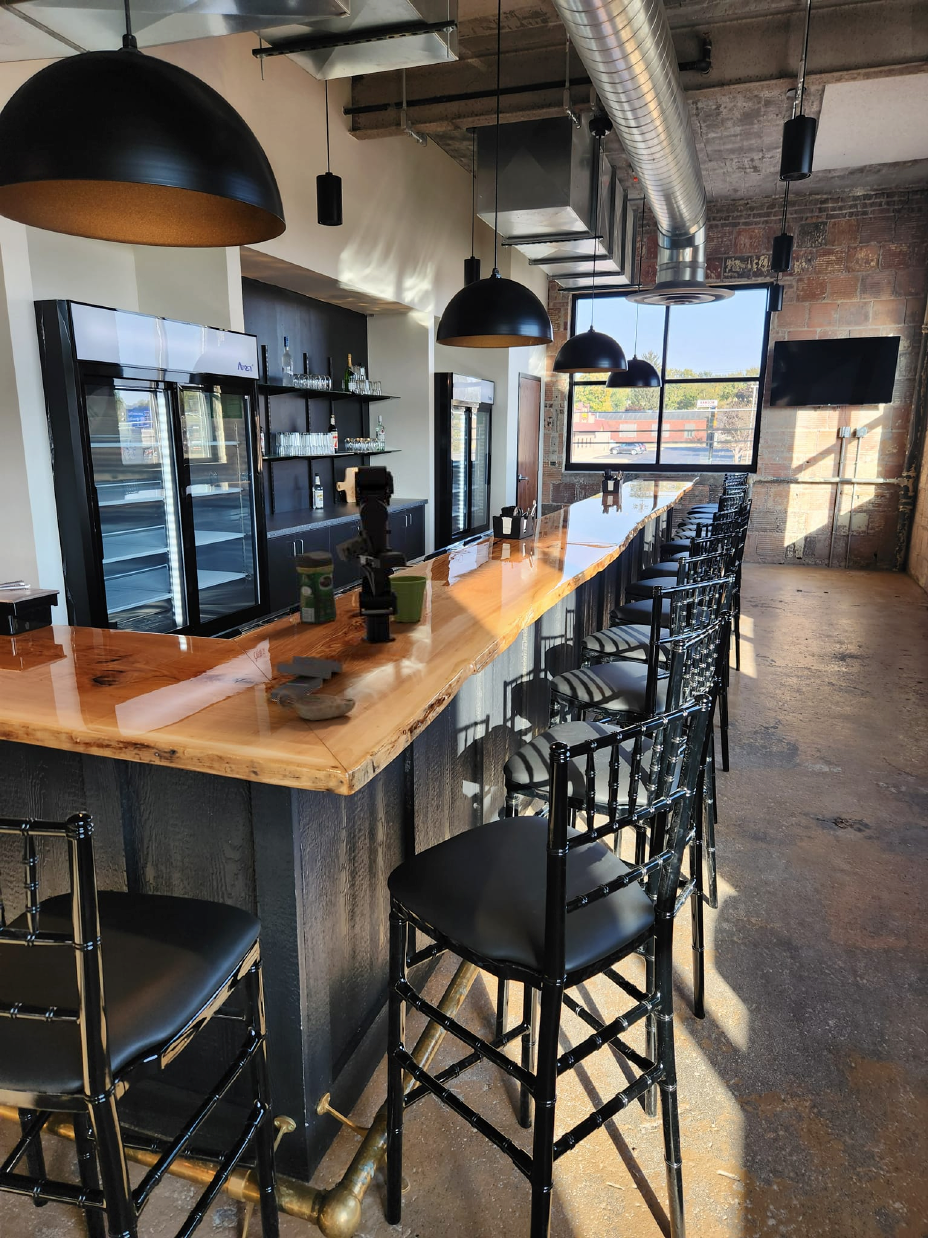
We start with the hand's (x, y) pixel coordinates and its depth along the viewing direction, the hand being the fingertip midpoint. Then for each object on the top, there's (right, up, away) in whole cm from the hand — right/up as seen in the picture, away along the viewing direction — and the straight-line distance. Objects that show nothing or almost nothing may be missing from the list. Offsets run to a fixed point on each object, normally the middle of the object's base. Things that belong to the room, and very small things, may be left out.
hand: (376, 595), depth 174 cm
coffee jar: (-20, -6, +37) cm, 42 cm away
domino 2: (-10, -17, -21) cm, 29 cm away
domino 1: (-9, -16, -17) cm, 25 cm away
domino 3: (-8, -15, -12) cm, 21 cm away
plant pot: (+4, -6, +36) cm, 37 cm away
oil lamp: (-6, -22, -40) cm, 46 cm away
